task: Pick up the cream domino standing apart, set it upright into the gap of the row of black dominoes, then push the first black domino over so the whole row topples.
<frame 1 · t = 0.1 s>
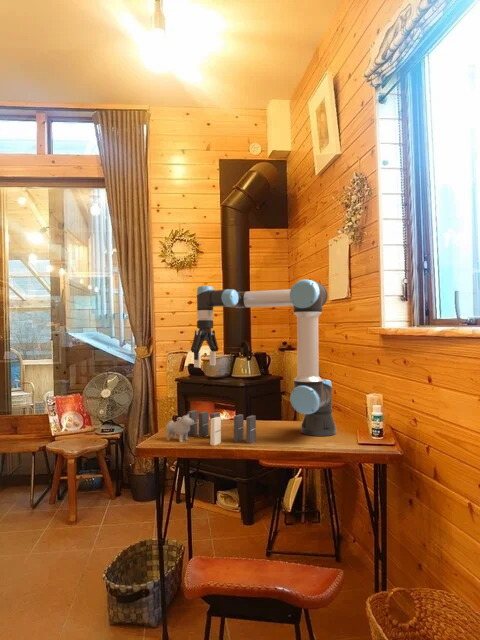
hand: (205, 366, 206), 28 cm above the table, tool pointing down, fingers open, 13 cm apart
domino 5: (203, 436, 189), on the table
cream domino: (215, 443, 176), on the table
domino 4: (215, 437, 186), on the table
domino 1: (251, 441, 179), on the table
domino 6: (192, 434, 191), on the table
grey dog figurine: (180, 440, 182), on the table
domino 2: (238, 440, 181), on the table
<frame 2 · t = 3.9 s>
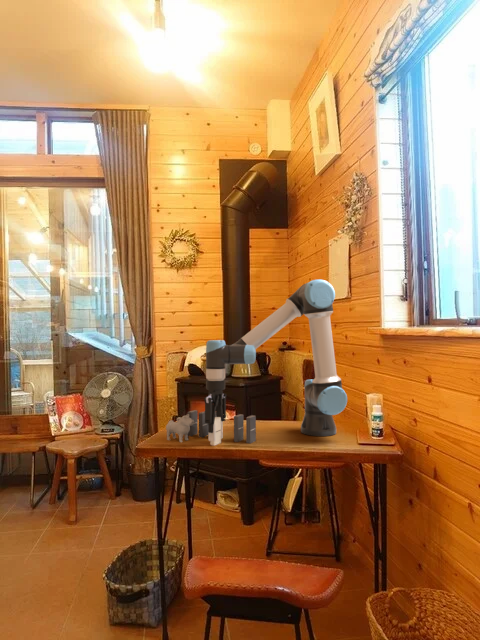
hand: (215, 439, 176), 2 cm above the table, tool pointing down, fingers closed on cream domino, 5 cm apart
cream domino: (215, 443, 176), on the table, touching gripper
everything else where it was.
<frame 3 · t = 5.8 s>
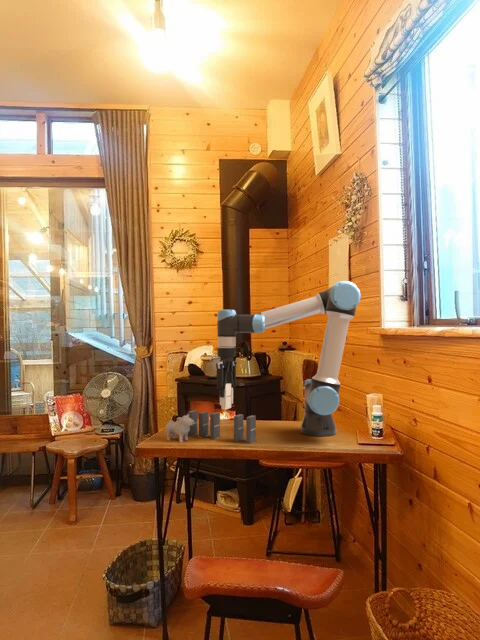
hand: (226, 404, 184), 14 cm above the table, tool pointing down, fingers closed on cream domino, 5 cm apart
cream domino: (226, 408, 184), point 12 cm above the table, touching gripper
everything else where it was.
when the fingers open (2 cm above the table, at t = 8.1 s): cream domino stays where it is, on the table.
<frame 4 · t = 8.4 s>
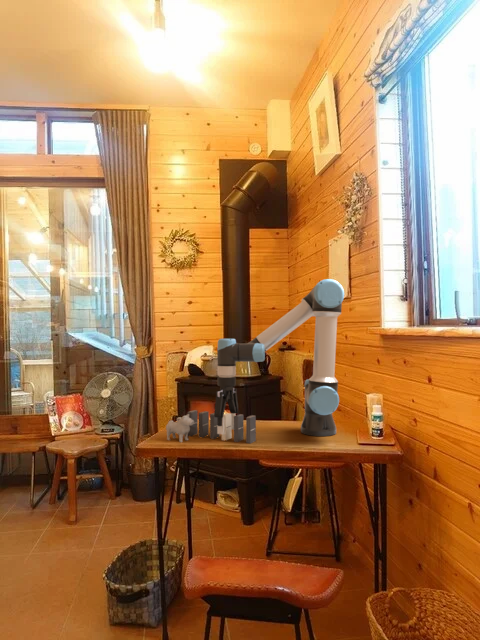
hand: (226, 431, 184), 3 cm above the table, tool pointing down, fingers open, 9 cm apart
cream domino: (226, 439, 184), on the table
everything else where it was.
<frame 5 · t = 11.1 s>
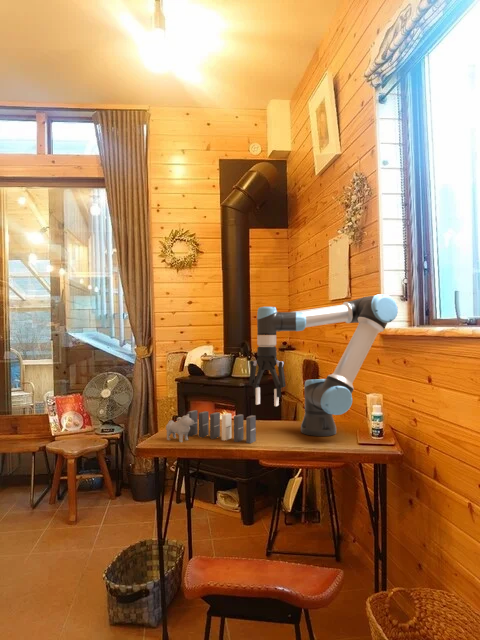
hand: (267, 404, 176), 15 cm above the table, tool pointing down, fingers open, 7 cm apart
nothing on the table moved.
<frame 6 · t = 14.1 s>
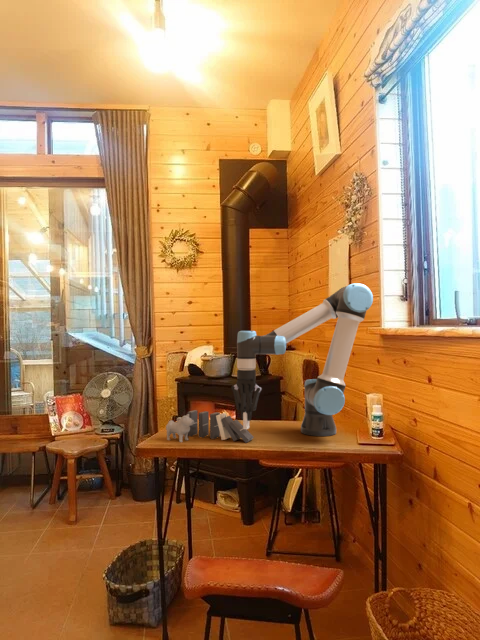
hand: (246, 428, 180), 5 cm above the table, tool pointing down, fingers closed
cream domino: (226, 438, 184), on the table, tilted 16°
domino 1: (249, 439, 179), point 1 cm above the table, tilted 50°
domino 2: (238, 439, 181), on the table, tilted 36°
everything else where it was.
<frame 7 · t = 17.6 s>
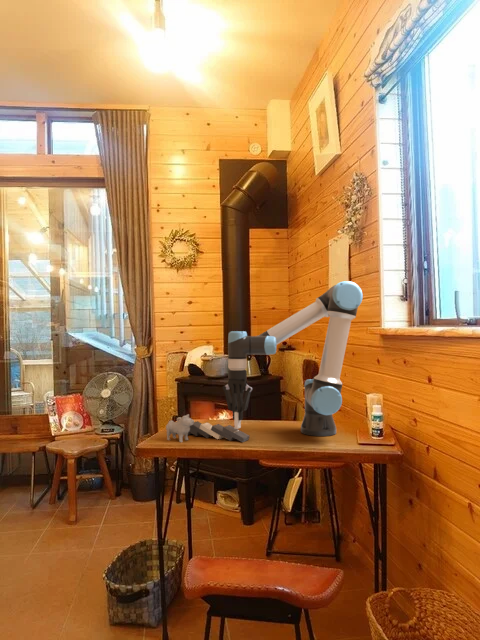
hand: (237, 427, 181), 5 cm above the table, tool pointing down, fingers closed
domino 5: (200, 433, 190), point 1 cm above the table, tilted 74°, touching domino 4
cream domino: (222, 436, 184), point 1 cm above the table, tilted 69°, touching domino 2, domino 4
domino 4: (211, 435, 187), point 1 cm above the table, tilted 69°, touching cream domino, domino 5
domino 1: (246, 439, 180), point 1 cm above the table, tilted 70°, touching domino 2
domino 6: (190, 432, 192), point 1 cm above the table, tilted 89°
domino 2: (234, 437, 182), point 1 cm above the table, tilted 70°, touching cream domino, domino 1
everything else where it was.
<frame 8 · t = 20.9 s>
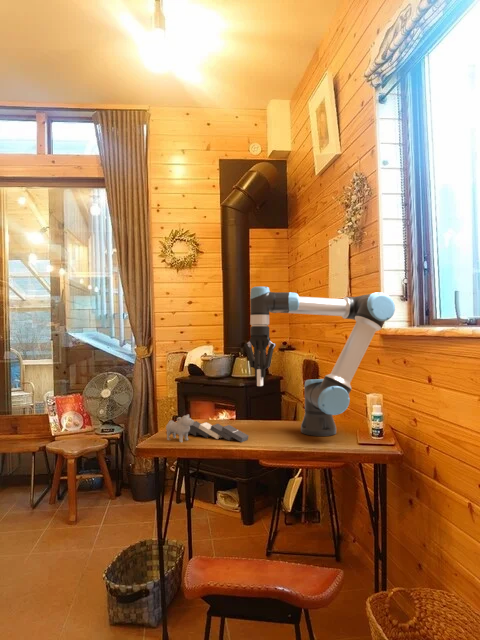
hand: (260, 385, 177), 22 cm above the table, tool pointing down, fingers closed
cream domino: (221, 436, 185), point 1 cm above the table, tilted 69°, touching domino 2, domino 4
at the end: domino 6 tilted 89°; cream domino tilted 69° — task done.
